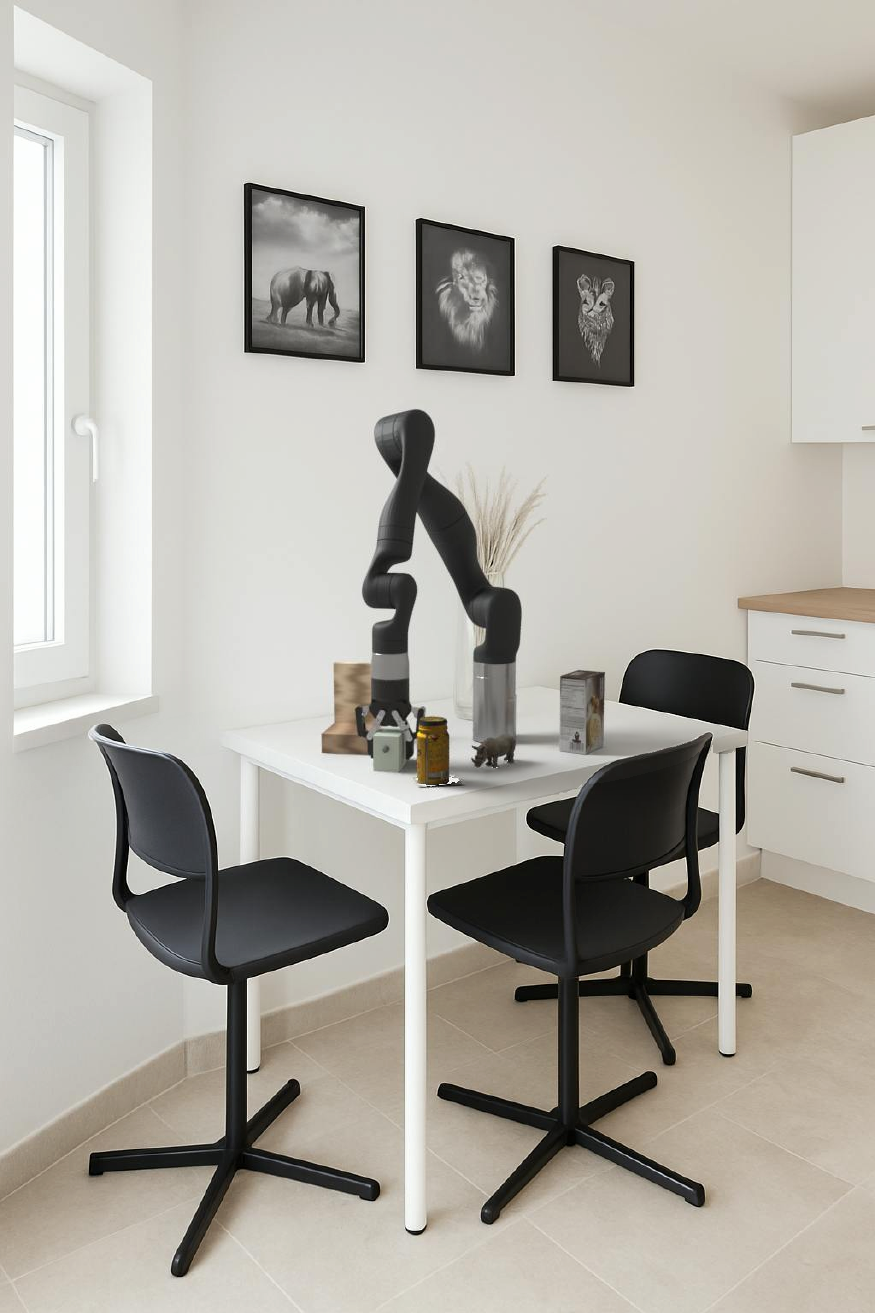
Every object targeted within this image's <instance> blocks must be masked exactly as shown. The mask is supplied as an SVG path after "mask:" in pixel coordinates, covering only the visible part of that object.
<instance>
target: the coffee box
mask: <svg viewBox="0 0 875 1313" xmlns="http://www.w3.org/2000/svg"><path fill="white" fill-rule="evenodd" d="M605 679H606V672H605V671H593V670H582V669H579V670H578V669H577V670H575V671H572V672H569V673H565V674H562V675H560V678H559V681H560V682H559V735H558V736H559V738H558V739H559V744H558V745H559V746H558V747H559V750H558V751H560V752H564V753H571V754H577V755H585V756H586V755H588V754H591V753H592V752H594V751H596V750H598V749H600V748H602V747H604V740H605V738H604V737H605V736H604V735H605V734H604V733H605V730H604V729H605V691H606V690H605V688H606V687H605V684H606V680H605Z"/></svg>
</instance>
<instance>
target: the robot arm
mask: <svg viewBox="0 0 875 1313" xmlns="http://www.w3.org/2000/svg"><path fill="white" fill-rule="evenodd" d="M434 424H435V423H434V421H433V419H432V418H431V416H430V415H429V414H428V413H427V412H426V411H425V410H422V409H418V408H412V409H408V410H404V411H401V412H397V413H393V414H390V415H386V416H384V417H381V418H380V419H378V420H377V421H376V423H375V426H374V429H373V438H374V442H375V444H376V448H377V450H378V452H379V454H380V456H381V458H382V459H383V462H384V463H385V464H386V465H387V467H388V468H389V469H390V471H391V473H392V474H393V476H394V477H395V478H396V480H395V483H394V486H393V488H392V490H391V492H390V493H389V495H388V498H387V500H386V501H385V504H384V506H383V507H382V509H381V510H382V511H381V513H380V517H379V523H378V527H377V528H378V529H377V536H376V537H377V538H376V545H375V546H376V547H375V552H374V553H373V554H374V555H372V556H373V557H372V559H371V562H370V565H369V567H368V570H367V572H366V575H365V577H364V578H363V579H364V580H363V582H362V588H361V596H362V598H363V599H362V600H363V601H364V604H365V605H366V606H368V607H369V608H371V609H375V610H376V609H381V610H395V613H394V615H393V617H392V618H391V619H386V620H382V621H377V622H375V623H374V624H373V626H372V629H371V659H370V663H371V670H370V674H371V703H370V705H367V706H363V705H359V706H357V707H356V708H355V714H356V723H357V733H358V736H360V737H364V738H366V739H367V753H368V754H367V755H368V756H369V757H370V759H373V736H374V734H375V733H376V732H377V731H378V729H379V727H380V726H384V727H386V726H392V727H398V726H399V728H400V730H401V731H402V732H403V734H404V736H405V738H406V742H405V750H406V760H407V761H409V760H411V758H412V757H413V756H414V754H415V740H417V734H418V732H419V720H420V719H421V718H423V717H426V713H427V712H426V711H427V709H426V707H425V706H421V707H420V706H419V707H418V706H412V704H411V701H410V700H411V699H410V658H409V631H410V630H409V628H410V624H411V619H412V615H413V610H414V607H415V603H416V601H417V597H418V585H417V581H416V580H415V578H414V576H412V574H410V573H408V572H407V573H406V572H389V571H390V569H391V568H392V567H393V566H395V565H398V564H403V563H406V562H408V561H410V560H411V557H412V554H413V548H414V546H413V545H414V537H415V528H416V521H417V520H416V519H417V515H418V517H419V519H420V521H421V523H422V525H423V528H424V529H425V531H426V534H427V535H428V537H429V539H430V541H431V542H432V544H433V546H434V547H435V548H434V549H436V552H437V553H438V554H439V557H440V558H441V560H442V563H443V564H444V566H445V568H446V570H447V573H449V576H450V577H451V580H452V581H453V583H454V585H455V588H456V591H457V592H458V595H459V598H460V601H461V603H462V606H463V608H464V611H465V613H466V615H467V617H468V618H469V620H470V621H471V623H472V624H474V625H475V626H477V627H479V628H482V629H485V635H484V641H483V642H482V643H481V644H480V645H478V646H477V645H476V647H474V648H473V654H472V655H473V656H472V659H473V660H472V664H473V666H472V667H473V668H472V670H473V671H472V674H473V675H472V739H473V741H476V742H479V743H483V741H484V740H486V739H487V738H489V737H492V738H497V737H498V736H500V735H501V734H506V733H508V734H510V735H511V736H513V737H514V738H515V739H516V737H517V694H516V692H517V689H516V686H517V683H516V682H517V677H516V675H517V653H518V651H519V649H520V645H521V636H522V635H521V634H522V633H521V631H522V616H523V613H522V603H521V598H520V597H519V595H518V594H517V592H516V591H514V590H513V589H511V588H508V587H502V586H501V587H499V586H493V585H492V584H491V583H490V581H489V580H488V578H487V576H486V575H485V573H484V571H483V569H482V567H481V565H480V562H479V559H478V538H477V532H476V528H475V526H474V523H473V521H472V519H471V518H470V516H469V513H468V511H467V510H466V508H465V506H464V503H463V502H462V501H461V500H460V499H459V498H458V497H457V495H455V494H454V492H452V491H450V490H449V489H448V488H447V487H446V486H445V485H443V484H442V483H441V482H439V481H438V480H437V479H436V478H435V477H434V476H432V475H431V474H430V473H429V472H428V469H429V466H430V465H429V464H430V462H431V459H432V458H431V457H432V454H433V450H434V447H435V439H436V428H435V425H434ZM368 711H370V713H371V714H372V715H373V717H374V718H375V721H374V723H373V725H372V727H371V729H370V731H368V730H366V724H365V716H366V715H367V712H368ZM411 713H412V714H413V717H414V718H415V719H416V725H415V731H414V732H413V730H412V728H411V725H410V723H409V721H408V719H407V718H408V717H409V715H410V714H411Z"/></svg>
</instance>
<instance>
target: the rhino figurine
mask: <svg viewBox="0 0 875 1313" xmlns="http://www.w3.org/2000/svg"><path fill="white" fill-rule="evenodd" d="M516 746H517V742H516V738H514V737H513V736H511V735H510V734H508V733H506V734H501V735H500V736H498V737H497V738H492V737H489V738H487V739H486V740H484V741H483V742H481V743H480V745H479V746H476V745H471V748H472V749H473V750H476V754H475V755H474V758H473V757H471V758H470V759H471V762H472V763H473V764H474V765H473V766H474V767H475V768H476V769H479V768H481V767H482V766H483V764H485V765H487V766H486V767H490V768H491V767H493V768H492V769H494V768H495V769H497V768H496V767H498V768H499V765H498V760H499V758H501V757H504V758H503V761H506V760H508V761H507V762H506V763H507V764H509V763H510V764H509V765H512V764H511V763H513V764H515V760H514V757H515V751H516V748H517V747H516ZM490 765H491V766H490Z"/></svg>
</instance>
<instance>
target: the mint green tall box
mask: <svg viewBox="0 0 875 1313" xmlns="http://www.w3.org/2000/svg"><path fill="white" fill-rule="evenodd" d="M405 742H406V738H405V736H404V734H403V732H402V731H401V730H400V728H399V726H398V727H392V726H386V727H384V726H382V727H381V728H380V729H379V730H378V731H377V732H376V733H375V734H374V736H373V761H372V762H373V768H372V770H373V772H396V773H397V772H398V773H399V772H400V771H401V770H402V768H403V767H404V765H405V764H406V763H407V761H408V760H406V750H405Z"/></svg>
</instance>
